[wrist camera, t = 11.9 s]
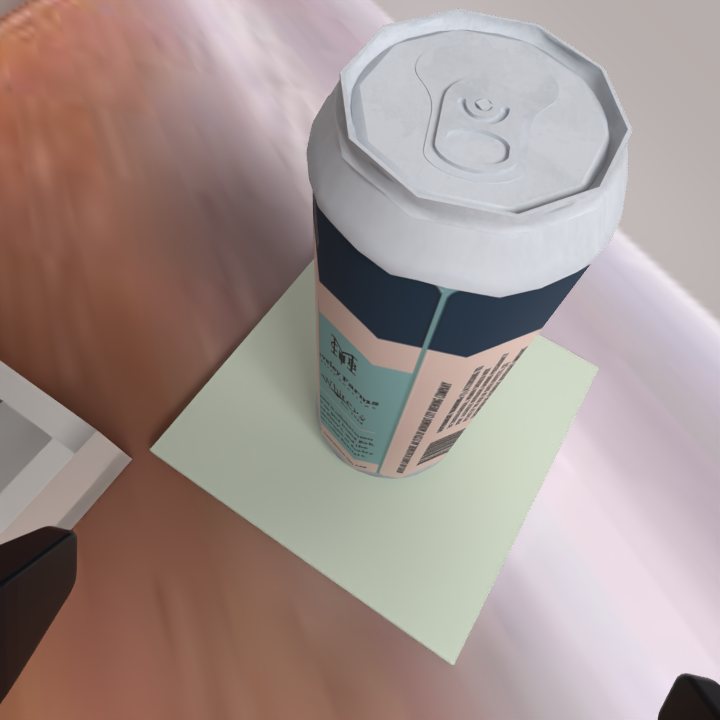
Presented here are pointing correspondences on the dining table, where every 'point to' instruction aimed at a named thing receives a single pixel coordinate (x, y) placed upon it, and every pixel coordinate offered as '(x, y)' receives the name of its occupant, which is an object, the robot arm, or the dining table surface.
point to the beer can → (450, 223)
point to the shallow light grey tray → (48, 460)
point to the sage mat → (376, 494)
